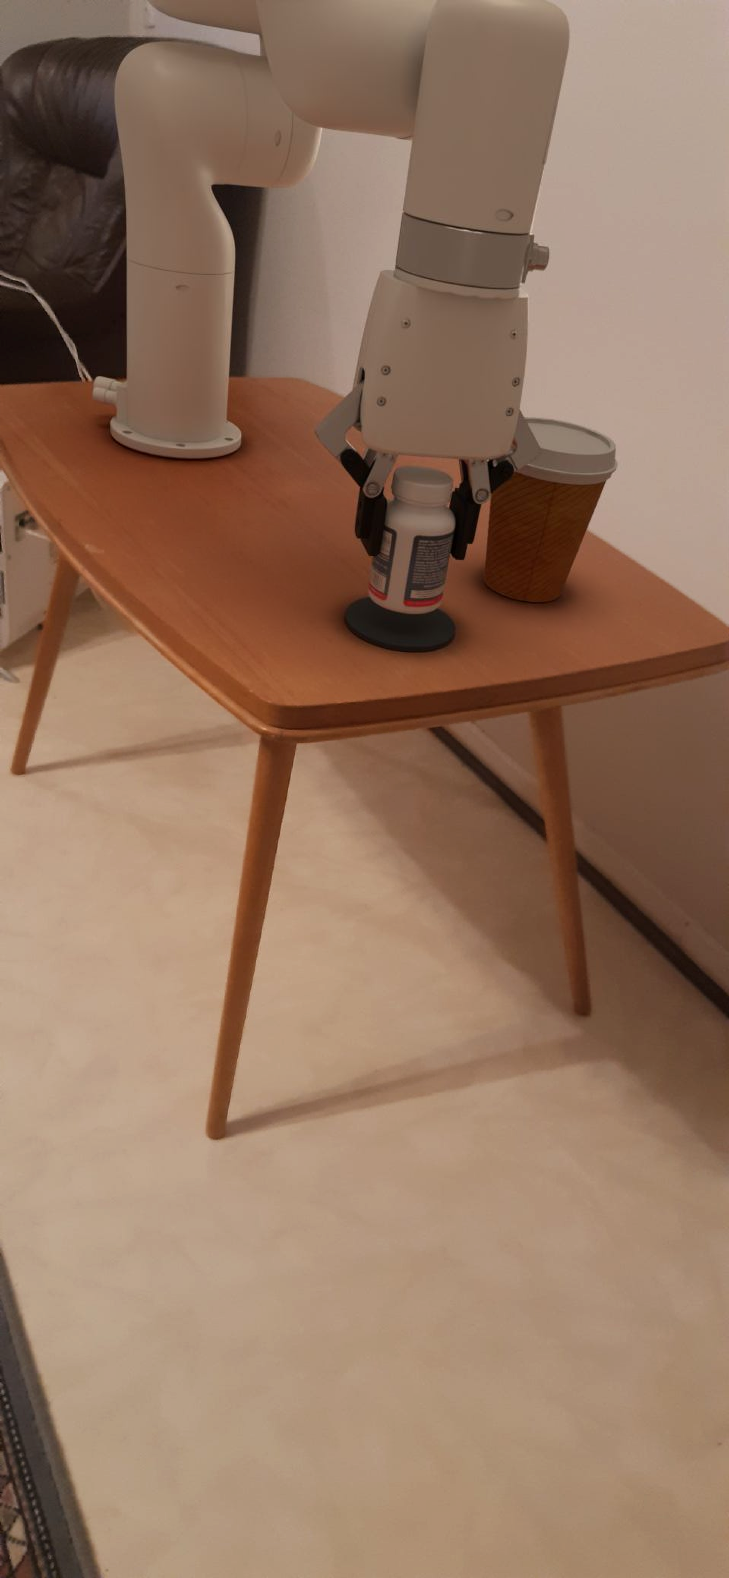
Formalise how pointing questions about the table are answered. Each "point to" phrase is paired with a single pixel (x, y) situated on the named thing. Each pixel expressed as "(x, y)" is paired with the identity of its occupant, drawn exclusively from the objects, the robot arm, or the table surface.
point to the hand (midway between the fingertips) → (412, 547)
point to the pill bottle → (414, 542)
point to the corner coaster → (399, 627)
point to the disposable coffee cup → (546, 510)
